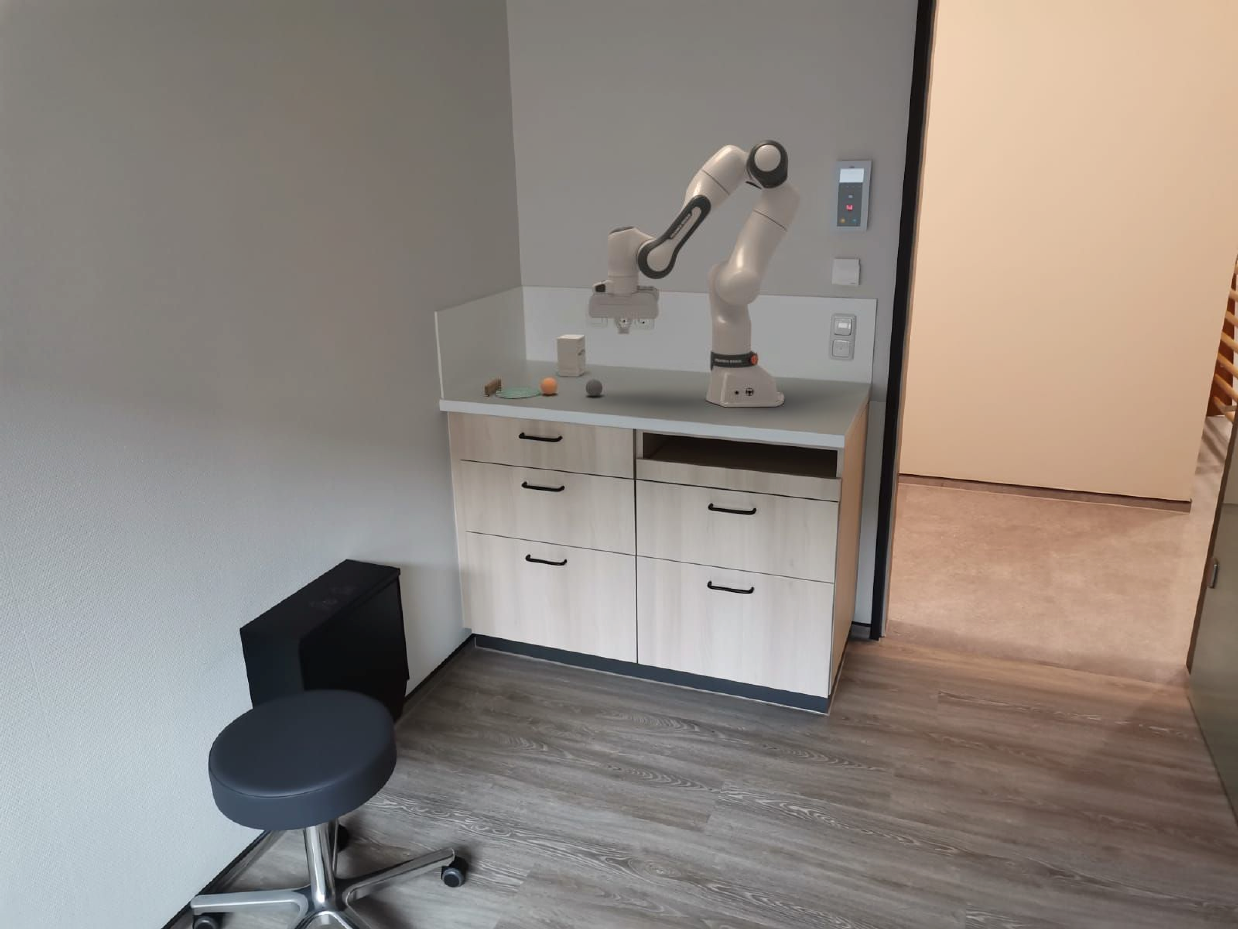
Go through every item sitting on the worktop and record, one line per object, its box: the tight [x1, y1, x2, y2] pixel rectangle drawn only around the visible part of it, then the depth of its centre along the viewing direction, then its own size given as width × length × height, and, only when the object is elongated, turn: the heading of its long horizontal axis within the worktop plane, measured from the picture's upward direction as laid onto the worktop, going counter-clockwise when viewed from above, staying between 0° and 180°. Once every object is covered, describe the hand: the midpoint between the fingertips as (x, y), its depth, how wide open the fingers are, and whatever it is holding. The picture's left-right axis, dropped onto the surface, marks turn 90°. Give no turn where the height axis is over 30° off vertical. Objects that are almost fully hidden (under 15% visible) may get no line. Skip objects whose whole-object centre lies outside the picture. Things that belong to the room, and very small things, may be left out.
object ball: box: [540, 377, 558, 396], centre depth 276 cm, size 5×5×5 cm
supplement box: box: [556, 334, 587, 378], centre depth 300 cm, size 7×7×13 cm
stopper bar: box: [484, 378, 502, 397], centre depth 280 cm, size 2×10×3 cm, turn 167°
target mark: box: [494, 386, 542, 399], centre depth 279 cm, size 14×14×1 cm
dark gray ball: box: [585, 379, 603, 397], centre depth 273 cm, size 5×5×5 cm
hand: (623, 333), depth 265 cm, fingers closed
